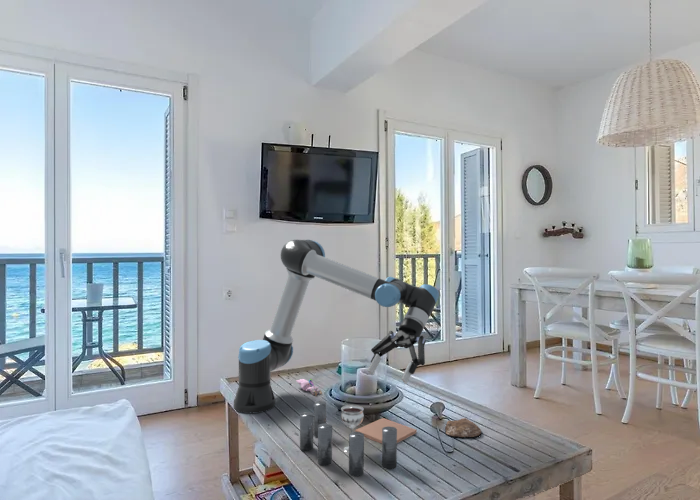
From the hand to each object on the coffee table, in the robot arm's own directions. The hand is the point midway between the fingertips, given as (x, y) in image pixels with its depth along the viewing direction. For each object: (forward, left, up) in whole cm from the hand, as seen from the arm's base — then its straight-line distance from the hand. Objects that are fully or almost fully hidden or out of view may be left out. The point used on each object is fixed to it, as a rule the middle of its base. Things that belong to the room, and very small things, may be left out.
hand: (386, 377), depth 140 cm
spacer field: (-1, -20, -19) cm, 27 cm away
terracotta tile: (-1, +1, -19) cm, 19 cm away
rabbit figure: (-50, +11, -19) cm, 54 cm away
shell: (+16, +20, -19) cm, 32 cm away
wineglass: (-1, -15, -19) cm, 24 cm away
